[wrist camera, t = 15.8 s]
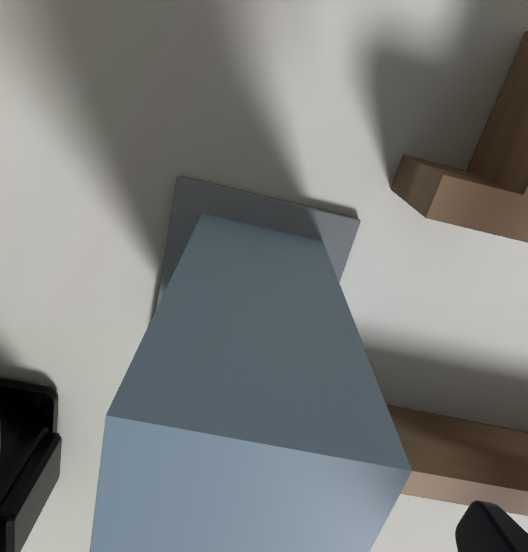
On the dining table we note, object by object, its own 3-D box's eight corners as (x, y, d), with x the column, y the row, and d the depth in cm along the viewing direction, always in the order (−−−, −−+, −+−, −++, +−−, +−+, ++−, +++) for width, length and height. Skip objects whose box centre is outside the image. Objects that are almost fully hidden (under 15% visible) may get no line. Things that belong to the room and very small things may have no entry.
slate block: (181, 320, 17) (82, 606, 8) (201, 213, 15) (106, 415, 6) (290, 342, 17) (323, 638, 8) (323, 241, 15) (412, 470, 6)
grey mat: (153, 334, 17) (151, 338, 17) (178, 175, 15) (176, 177, 14) (308, 365, 18) (309, 369, 18) (358, 218, 15) (360, 220, 15)
